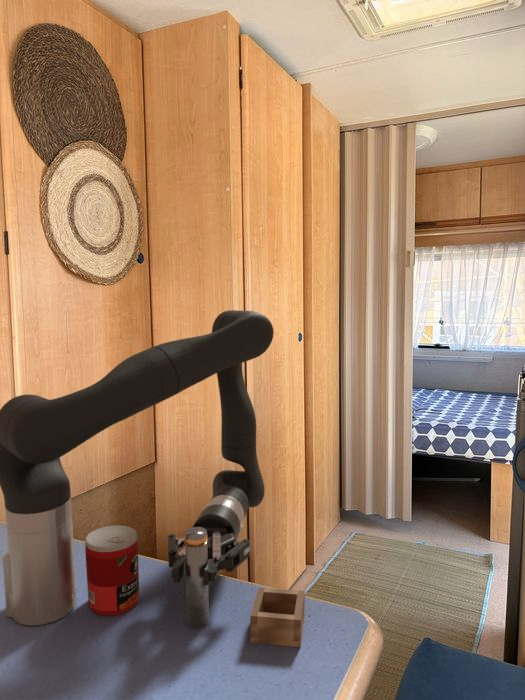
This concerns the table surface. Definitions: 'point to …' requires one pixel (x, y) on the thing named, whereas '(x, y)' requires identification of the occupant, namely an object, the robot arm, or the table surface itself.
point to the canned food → (112, 569)
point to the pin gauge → (196, 577)
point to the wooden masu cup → (278, 617)
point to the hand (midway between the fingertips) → (191, 577)
